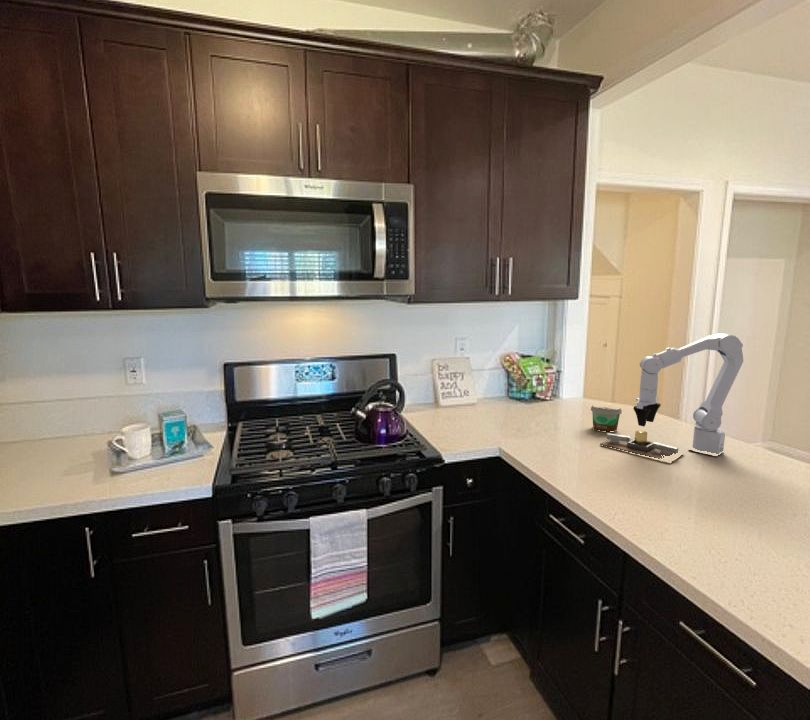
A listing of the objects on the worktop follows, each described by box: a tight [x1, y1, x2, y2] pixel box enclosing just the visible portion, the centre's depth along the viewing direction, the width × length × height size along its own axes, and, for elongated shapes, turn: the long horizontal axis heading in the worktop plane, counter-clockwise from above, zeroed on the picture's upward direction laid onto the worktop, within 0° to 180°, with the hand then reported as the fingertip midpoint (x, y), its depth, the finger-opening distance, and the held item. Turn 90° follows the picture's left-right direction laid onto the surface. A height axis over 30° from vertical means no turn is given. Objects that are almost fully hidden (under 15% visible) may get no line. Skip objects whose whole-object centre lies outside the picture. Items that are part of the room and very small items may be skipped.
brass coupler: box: [634, 429, 648, 446], centre depth 176 cm, size 4×4×6 cm
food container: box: [590, 404, 622, 433], centre depth 198 cm, size 12×6×10 cm, turn 62°
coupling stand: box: [599, 432, 679, 459], centre depth 176 cm, size 25×13×4 cm, turn 41°
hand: (645, 423), depth 178 cm, fingers open, 7 cm apart
